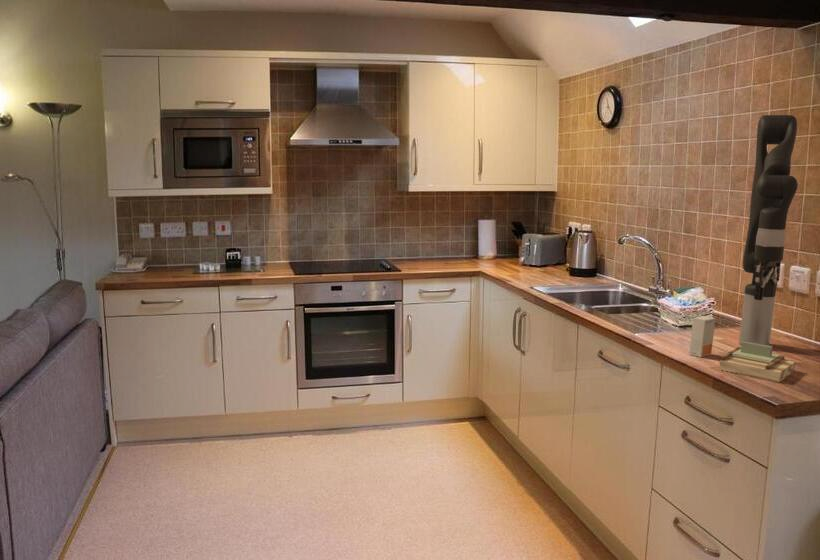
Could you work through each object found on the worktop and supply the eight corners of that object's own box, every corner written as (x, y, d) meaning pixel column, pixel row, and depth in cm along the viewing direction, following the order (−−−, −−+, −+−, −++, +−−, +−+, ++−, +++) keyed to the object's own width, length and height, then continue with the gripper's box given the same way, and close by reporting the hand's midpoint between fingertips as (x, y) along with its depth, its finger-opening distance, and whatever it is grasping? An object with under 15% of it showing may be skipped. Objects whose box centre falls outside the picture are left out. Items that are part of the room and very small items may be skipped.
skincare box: (701, 357, 214) (705, 320, 212) (688, 354, 218) (692, 317, 216) (712, 355, 218) (716, 318, 216) (699, 352, 221) (703, 315, 219)
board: (736, 359, 213) (738, 347, 213) (794, 371, 203) (795, 358, 202) (719, 370, 202) (720, 356, 201) (778, 382, 191) (780, 368, 190)
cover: (741, 350, 212) (743, 338, 211) (779, 357, 205) (781, 345, 204) (731, 355, 205) (733, 343, 204) (770, 363, 198) (772, 350, 198)
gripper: (766, 240, 210) (760, 293, 213) (746, 244, 201) (741, 298, 204) (792, 243, 205) (786, 297, 208) (774, 247, 196) (767, 303, 198)
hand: (763, 297), depth 206 cm, fingers open, 8 cm apart
